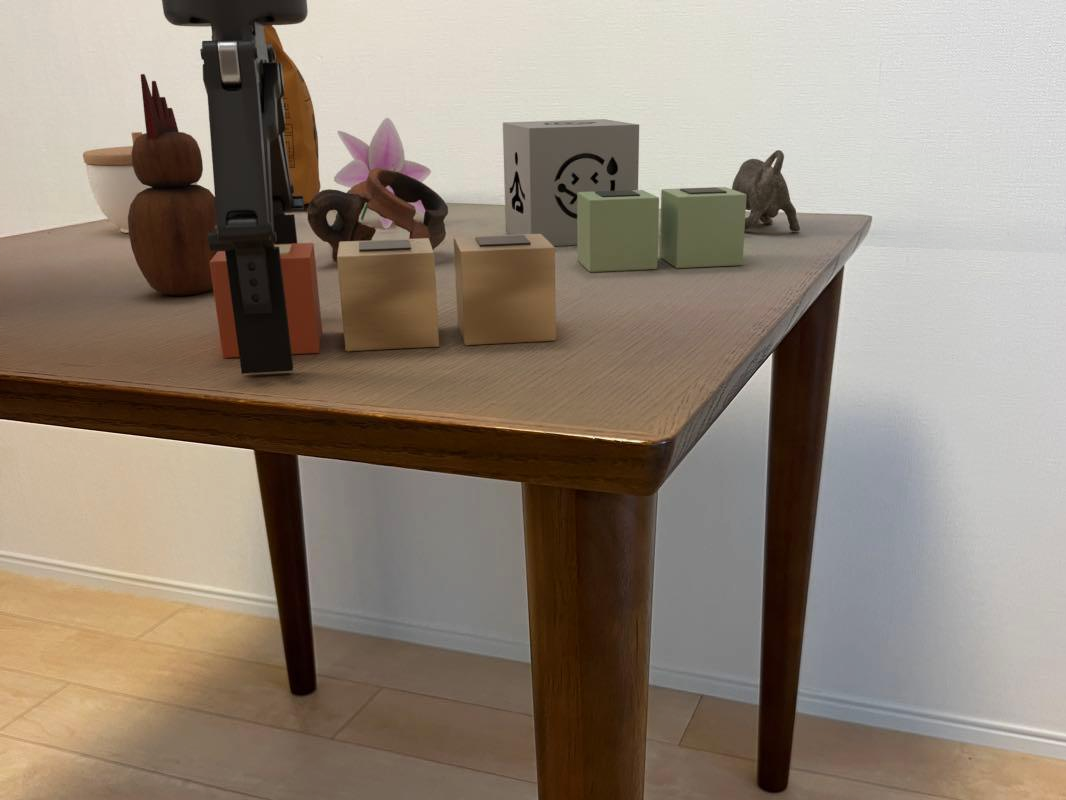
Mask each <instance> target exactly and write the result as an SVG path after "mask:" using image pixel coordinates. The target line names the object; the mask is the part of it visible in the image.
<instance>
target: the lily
mask: <svg viewBox="0 0 1066 800" xmlns="http://www.w3.org/2000/svg"><path fill="white" fill-rule="evenodd" d="M337 135H338V137H339V138H340V140H341V142H342V143H343V145H344V146H345V148H346V150H347V151H348V153H349V154H350V156H351V157H352V159H353V160H351V161H349V162H348V163H347V164H345V166H343V167H342V168H341V169H340V170H338V172H337V173H336V174H335V176H334V177H333V182H335V183H336V184H338V185H340V186H343V187H346V188H349V189H351V188H352V187H353V186H355V185H357V184H359V183H361V182H363V181H366V180H367V178H368V174H369V172H370V171H371V170H372V169H377V168H381V169H388V170H391V171H396V172H399V173H402V174H405V175H407V176H409V177H412V178H414V179H416V180H418V181H420V182H422V183H423V182H424V181H425V180H426V179H427V178H428V177H430V175H431V173H432V170H431V168H429V167H427V166H425V165H424V164H421V163H419V162H415V161H412V160H408V159H406V157H405V149H404V146H403V142H402V140H401V137H400V134H399V132H398V130H397V128H396V126H395V123H394V122H393V121H392V119H390V118H389V117H385V118H384V119H383V120H382V121H381V123H380V124H379V126H378V128H377V129H376V130H375V132H374V134H373V136H372V139H371V141H370V143H369V144H367V143H366V142H365V141H363V140H362V139H360V138H358V137H357V136H354V135H352V134H349V133H348V132H345V131H341V130H337ZM385 188H386V189H388V190H389V191H390V192H391V193H393V194H394V192H393V190H392V188H391V187H390V186H387V187H385ZM368 203H369V202H366V203H365V205H364V208H363V209H362V212H361V216H360V220H361V221H364V218H365V215H366V213H367V210H368V208H367V207H366V206H367V204H368ZM409 204H411V205H413V206H414V207H415V210H416V213H415V214H419V215H421V216H423V217H424V214H425V209H424V206H423V204H422V202H421V200H419V201H417V202H415V203H409ZM378 217H379V219H380V222H381V225H382V226H383V228H384V229H385V230H387V229H389V227H390V226H391V225H392V223H394V222H393V221H391V220H389V219H386V218H383V217H381V216H380V215H379V214H378Z"/></svg>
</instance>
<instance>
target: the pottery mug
mask: <svg viewBox="0 0 1066 800" xmlns="http://www.w3.org/2000/svg"><path fill="white" fill-rule="evenodd" d="M387 186H390V187H391V188H392V190H393V192H394V194H393V193H391V192H390V191H389V190H388V189H386V188H385V187H387ZM419 200H421V202H422V204H423V206H424V209H425V214H424V216H423V221H422V222H423V223H422V222H420V221H417V220H415V219H414V218H415V216H416V214H417V213H416V210H415V207H414V206H413V205H411V204H409V203H415V202H417V201H419ZM366 202H369V203H368V204H367V206H366V207H367V210H371V211H373V212H375V213H377V215H378V216H379V215H380V216H381V217H383V218H386V219H389V220H391V221H393V222H392V223H393V224H395V225H396V226H397V227H399V228H401V229H403V230H406V231H407V232H408V233H409V238H408V239H421V238H428V239H429V241H430V243H431V246H432V249H433V250H435V248H438V246H439V245H440V244H442V243H443V241H444V240H445V238H446V236H447V231H446V230H447V229H446V225H445V219H446V218H447V216H448V215H449V207H448V205H447V204H446V201H445V200H444V199H443V198H442V197H441V195H440V194H438V193H437V192H436V191H434V189H432V188H431V187H429V186H428V185H426V184H425V183H423V181H422V182H420V181H418V180H416V179H414V178H412V177H409V176H407V175H405V174H402V173H399V172H396V171H391V170H388V169H381V168H377V169H372V170H371V171H370V172H369V174H368V178H367V180H366V181H363V182H361V183H359V184H357V185H355V186H353V187H352V188H349V189H348V190H347V192H345V191H342V190H338V189H331V188H328V189H322V190H321V191H319V193H317V194H316V195H315V196H314V197H313V198H312V200H311V202H310V203H308V207H307V209H306V211H307V221H308V224H309V227H310V228H311V230H312V232H313V233H314V234H315V235H316V237H317V238H318V239H320V240H321V241H322V242H325V243H328V245H329V246H330V247H331V250H332V251H331V259H332V260H334V261H337V254H338V246H339V242H345V241H371V240H373V237H374V236H375V233H376V232H377V229H376V227H373V226H368V225H367V224H363V223H362V222H360V221H359V220H360V215H362V212H363V210H364V208H365V205H366ZM331 211H336V215H335V219H334V221H333V224H332V225H330V224H329V221H328V217H327V216H328V213H329V212H331Z"/></svg>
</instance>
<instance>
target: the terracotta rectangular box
mask: <svg viewBox="0 0 1066 800" xmlns="http://www.w3.org/2000/svg"><path fill="white" fill-rule="evenodd" d="M278 246H279V249H280V258H281V266H282V275H283V284H284V292H285V301H286V309H287V318H288V326H289V335H290V344H291V352H292V355H307V354H308V355H309V354H319V353H320V349H321V342H322V336H323V325H322V324H323V323H322V313H321V304H320V293H319V283H318V273H317V265H316V253H315V244H314V242H297V243H294V244H275V247H278ZM210 268H211V276H212V283H213V288H212V289H213V296H214V297H213V298H214V304H215V305H214V306H215V311H216V319H217V325H218V332H219V340H220V341H219V342H220V347H221V355H222V358H223V359H230V358H231V359H232V358H240V357H239V350H238V343H237V335H236V328H235V321H234V313H233V306H232V299H231V291H230V284H229V277H228V269H227V262H226V255H225V251H218V252H217V253H216V254H215V256H214V257H213V258H212V260H211V261H210Z"/></svg>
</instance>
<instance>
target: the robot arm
mask: <svg viewBox="0 0 1066 800" xmlns="http://www.w3.org/2000/svg"><path fill="white" fill-rule="evenodd" d="M161 5H162V10H163V16H164V18H165V20H166V21H167V22H168V23H170V24H171V25H173V26H177V27H199V28H201V27H203V28H204V27H205V28H206V27H208V28H209V27H210V29H211V40H202V41H201V48H199V49H200V58H201V60H202V61H203V64H202V81H203V85H204V89H205V92H206V96H207V108H208V121H209V133H210V134H209V135H210V150H211V161H212V162H211V163H212V176H213V190H214V196H215V204H216V218H217V226H215V231H216V233H208V242H209V247H210V251H211V252H216V251H225V255H226V262H227V269H228V277H229V284H230V291H231V299H232V306H233V313H234V321H235V328H236V335H237V343H238V350H239V357H238V358H239V365H240V371H241V374H243V375H244V374H260V373H276V372H292V371H294V362H293V354H292V352H291V344H290V335H289V326H288V318H287V309H286V301H285V292H284V284H283V275H282V266H281V258H280V249H279V246H278V247H275V244H294V243H298V236H297V227H296V226H297V225H296V219H295V218H296V217H295V214H294V213H304V212H305V205H304V202H303V195H293V193H294V186H293V185H292V184H291V178H290V171H289V164H288V157H287V150H286V143H285V136H284V131H285V110H284V104H283V98H282V97H283V95H284V77H283V71H282V65H281V62H274V61H275V60H276V56H275V51H273V47H272V44H266V40H265V36H264V28H263V27H264V26H265V25H272V26H286V25H287V26H288V25H297V24H301V23H303V22H305V21H306V19H307V17H308V14H309V13H308V12H309V11H308V0H161ZM286 213H288V214H286ZM290 213H293V214H290Z"/></svg>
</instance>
